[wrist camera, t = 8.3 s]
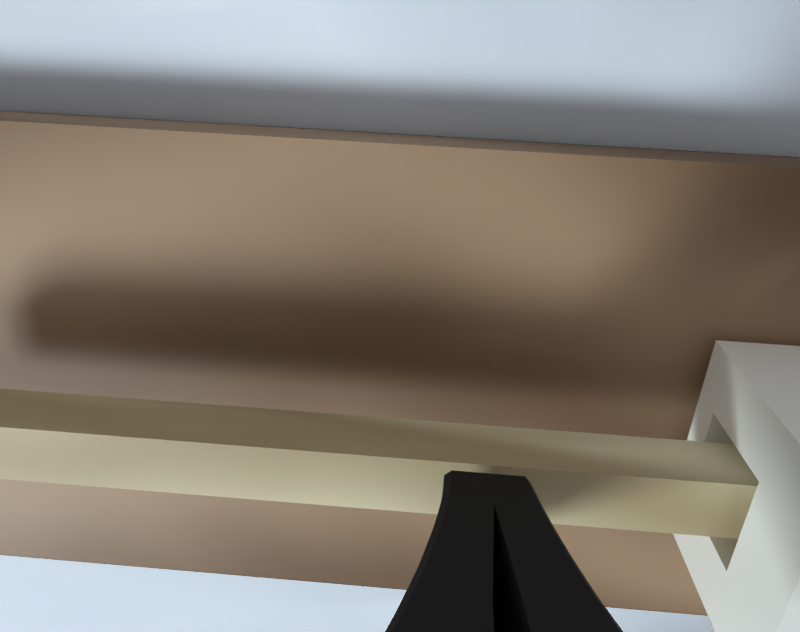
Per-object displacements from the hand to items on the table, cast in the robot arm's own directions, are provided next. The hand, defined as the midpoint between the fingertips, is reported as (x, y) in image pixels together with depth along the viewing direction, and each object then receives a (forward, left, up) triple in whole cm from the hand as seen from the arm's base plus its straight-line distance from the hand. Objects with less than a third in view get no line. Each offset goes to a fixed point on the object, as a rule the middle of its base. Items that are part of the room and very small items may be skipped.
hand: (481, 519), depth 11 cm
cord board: (0, 0, -4) cm, 4 cm away
